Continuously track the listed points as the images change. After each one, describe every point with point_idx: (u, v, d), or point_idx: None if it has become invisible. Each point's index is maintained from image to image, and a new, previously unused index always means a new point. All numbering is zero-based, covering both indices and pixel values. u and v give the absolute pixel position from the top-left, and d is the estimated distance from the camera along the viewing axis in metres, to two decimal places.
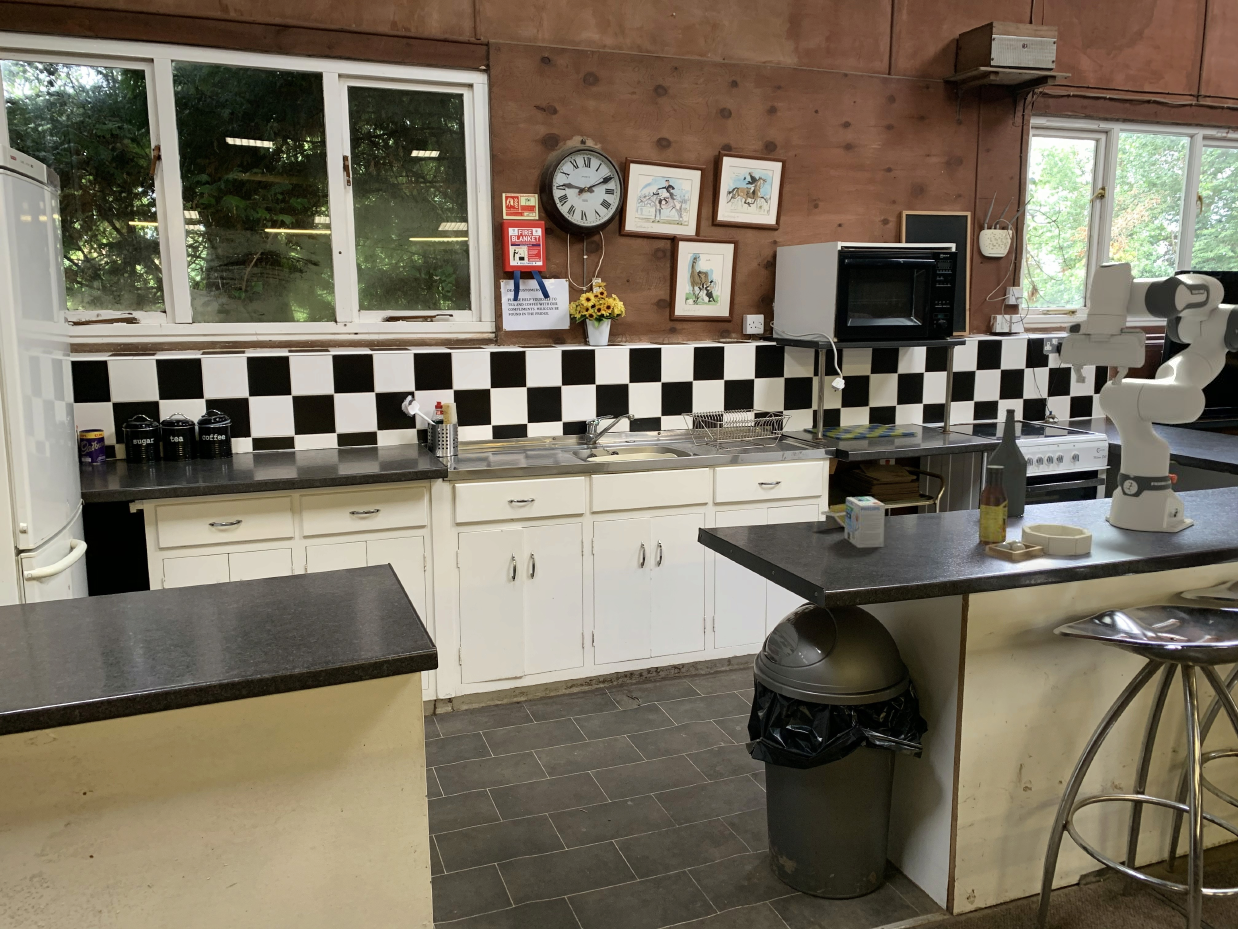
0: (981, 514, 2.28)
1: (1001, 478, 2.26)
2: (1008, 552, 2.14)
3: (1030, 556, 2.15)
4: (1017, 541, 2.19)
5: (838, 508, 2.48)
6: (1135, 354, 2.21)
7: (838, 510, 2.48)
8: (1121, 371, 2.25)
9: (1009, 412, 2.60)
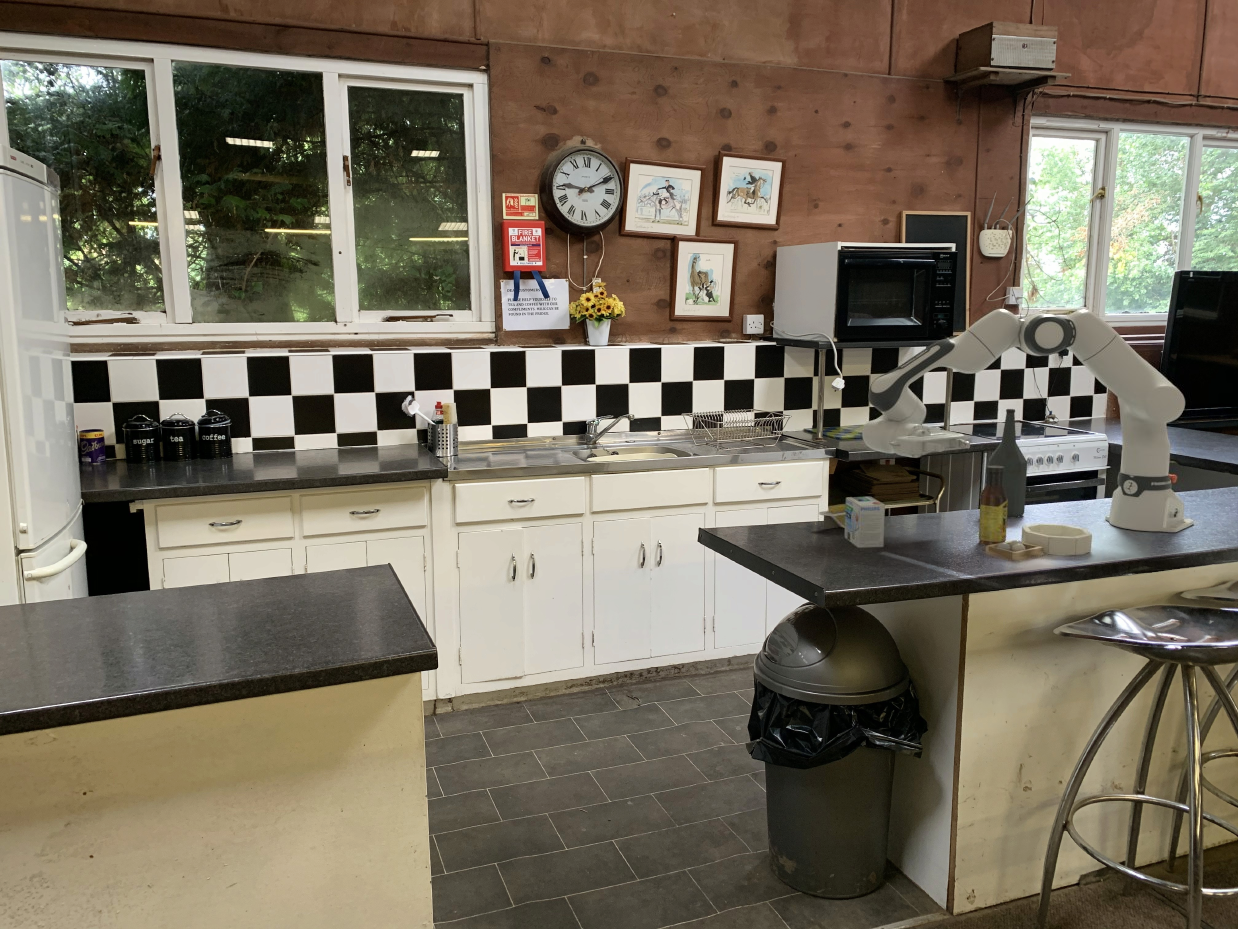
0: (981, 514, 2.28)
1: (1001, 478, 2.26)
2: (1008, 552, 2.14)
3: (1030, 556, 2.15)
4: (1017, 541, 2.19)
5: (836, 509, 2.48)
6: (906, 453, 2.38)
7: (836, 510, 2.48)
8: (927, 451, 2.36)
9: (1009, 412, 2.60)
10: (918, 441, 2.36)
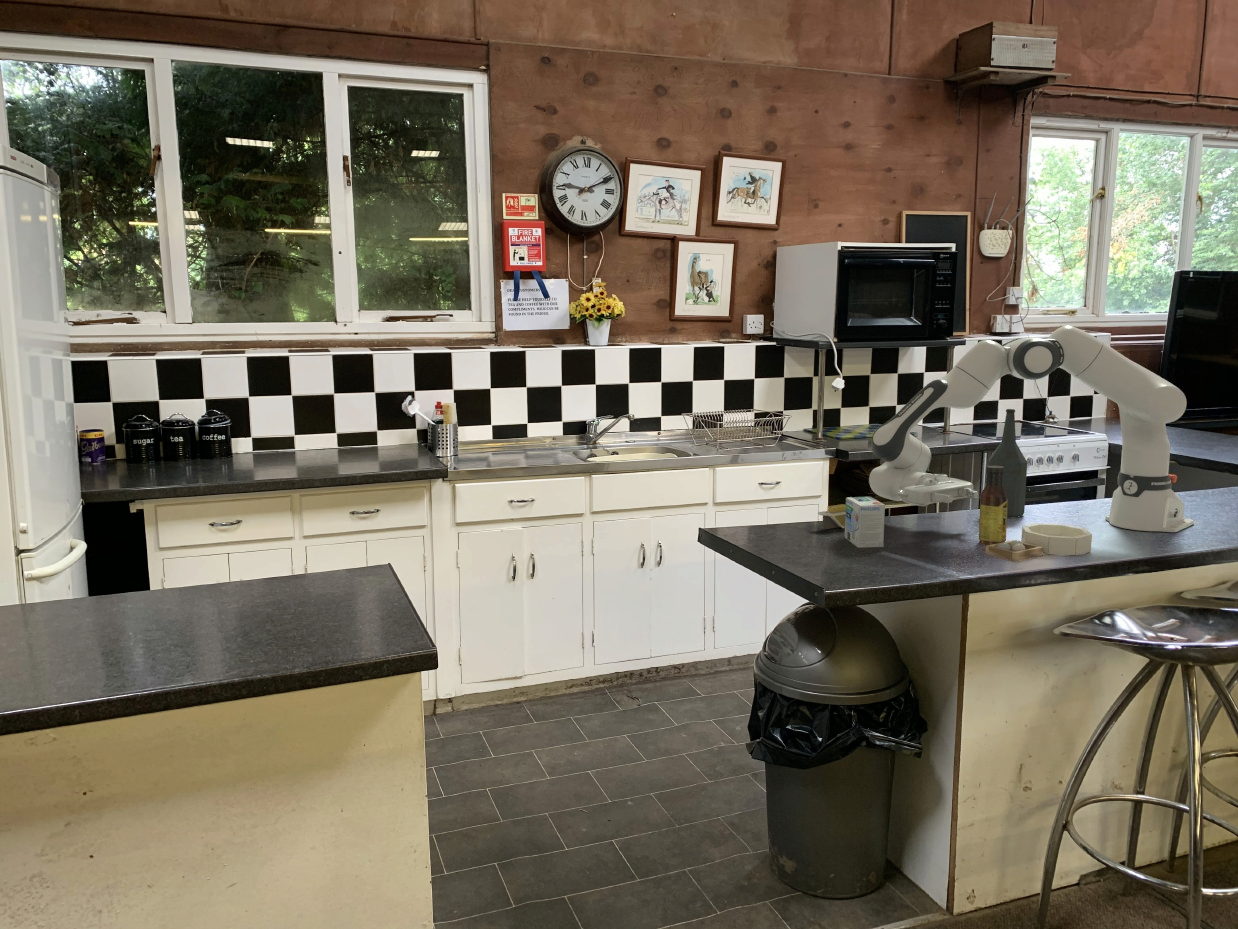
0: (981, 514, 2.28)
1: (1001, 478, 2.26)
2: (1008, 552, 2.14)
3: (1030, 556, 2.15)
4: (1017, 541, 2.19)
5: (835, 509, 2.48)
6: (914, 503, 2.37)
7: (835, 510, 2.48)
8: (935, 502, 2.35)
9: (1009, 412, 2.60)
10: (926, 492, 2.35)
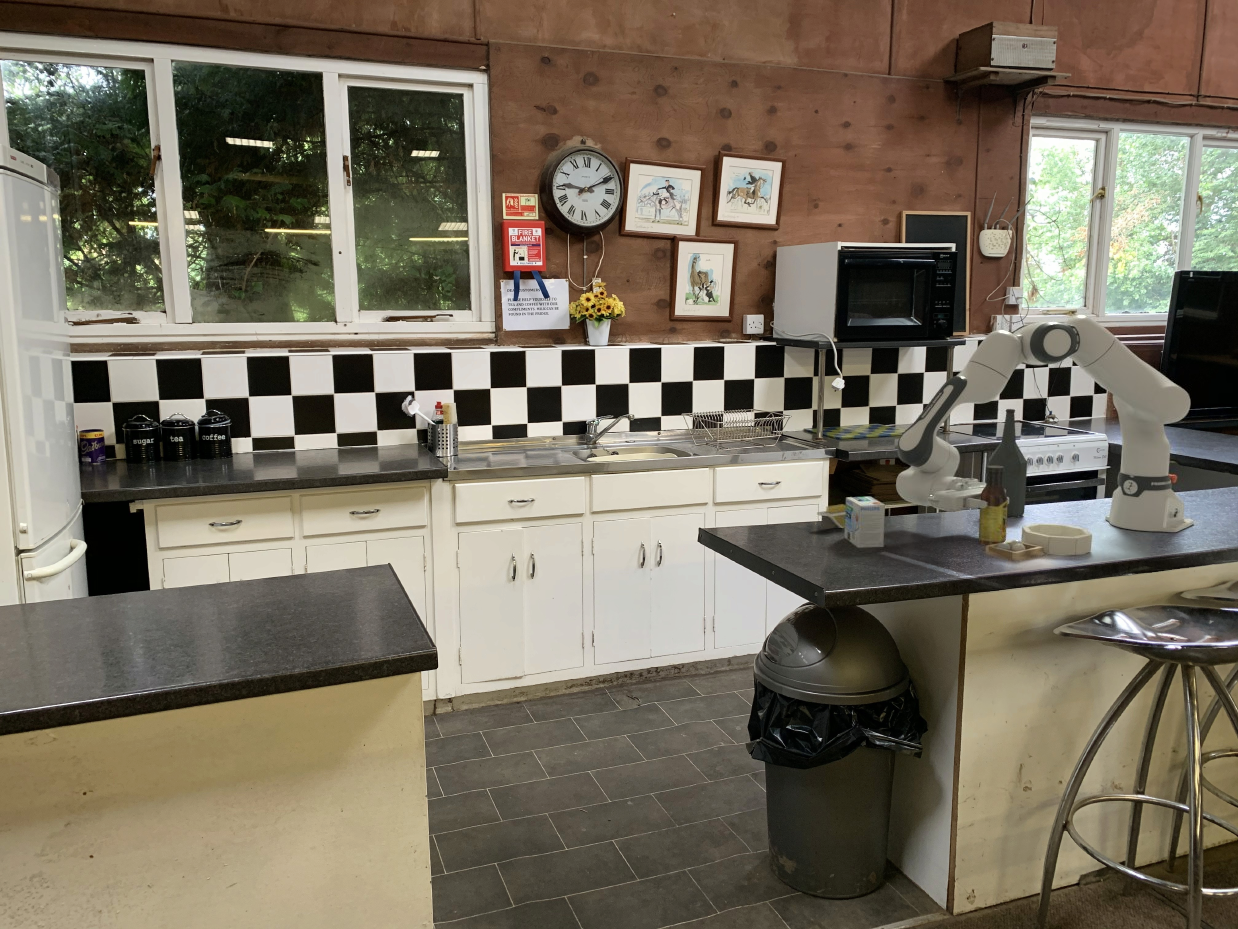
0: (981, 514, 2.28)
1: (1001, 478, 2.25)
2: (1008, 552, 2.14)
3: (1030, 556, 2.15)
4: (1017, 541, 2.19)
5: (834, 509, 2.48)
6: (945, 509, 2.29)
7: (834, 511, 2.48)
8: (970, 507, 2.27)
9: (1009, 412, 2.60)
10: (958, 497, 2.26)
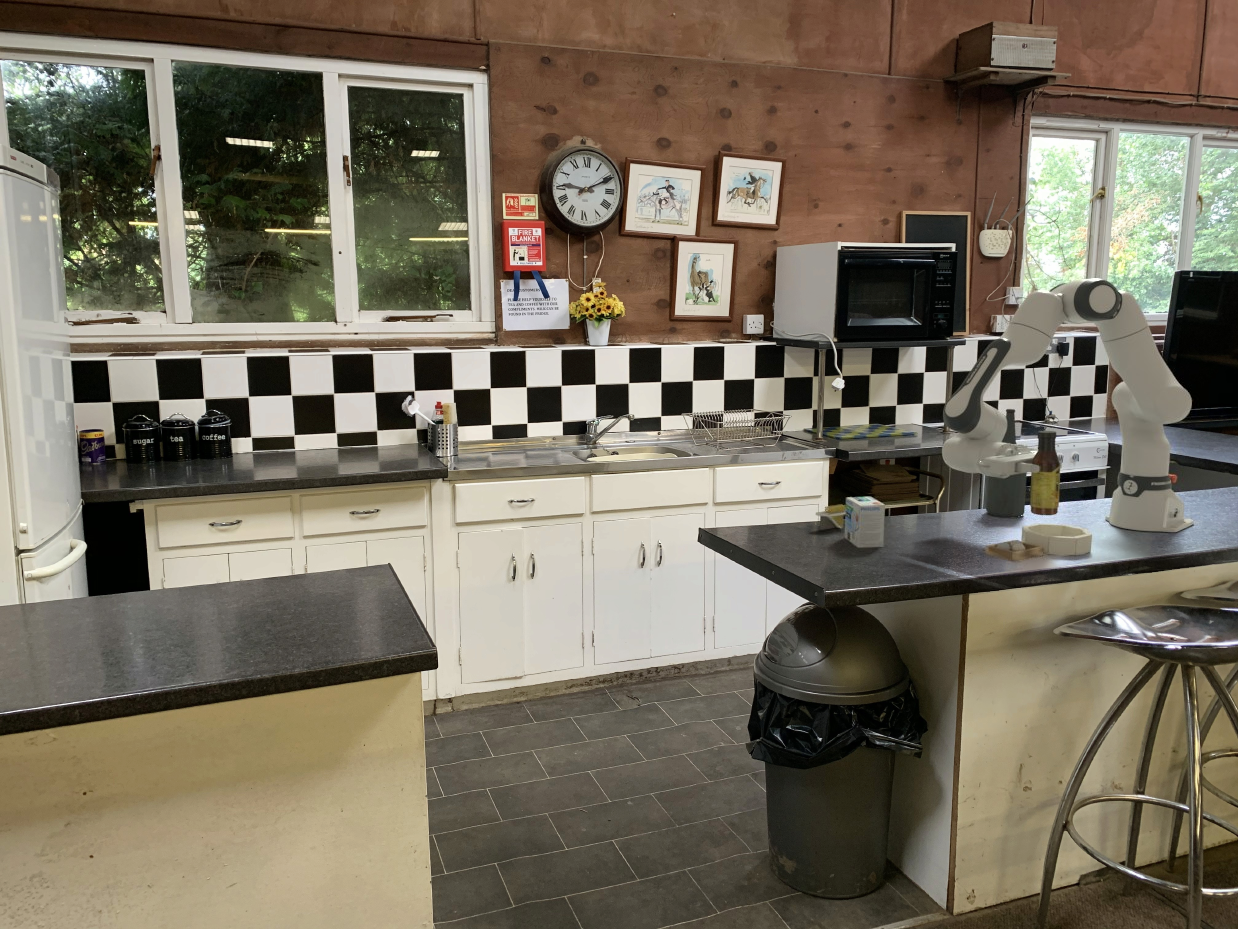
0: (1033, 480, 2.23)
1: (1053, 443, 2.20)
2: (1008, 552, 2.14)
3: (1030, 556, 2.15)
4: (1017, 541, 2.19)
5: (833, 509, 2.48)
6: (996, 474, 2.24)
7: (833, 511, 2.48)
8: (1022, 472, 2.22)
9: (1009, 412, 2.60)
10: (1010, 462, 2.21)
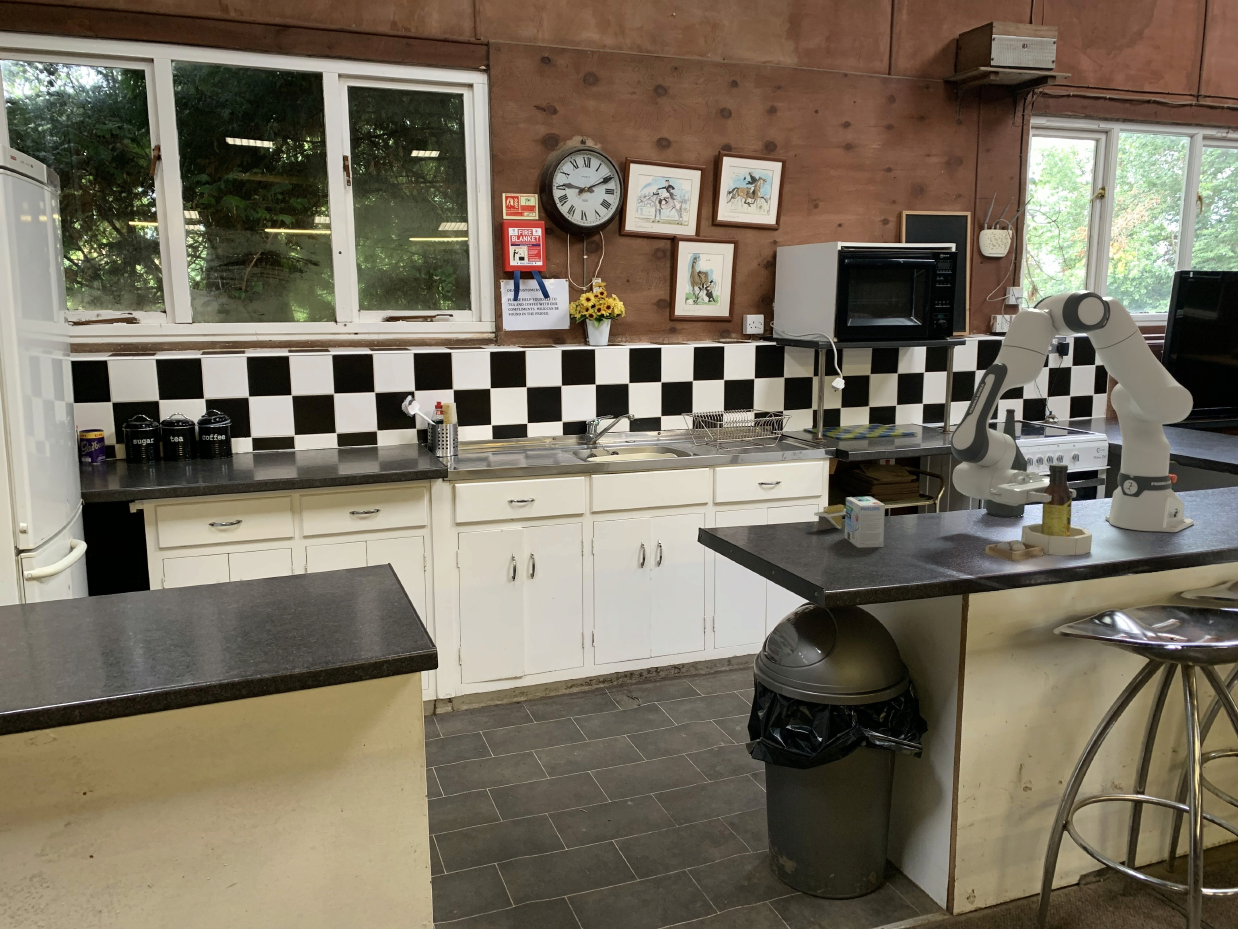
0: (1044, 513, 2.23)
1: (1065, 476, 2.21)
2: (1008, 552, 2.14)
3: (1030, 556, 2.15)
4: (1017, 541, 2.19)
5: (831, 509, 2.47)
6: (1008, 503, 2.23)
7: (831, 511, 2.47)
8: (1032, 501, 2.22)
9: (1009, 412, 2.60)
10: (1022, 491, 2.21)
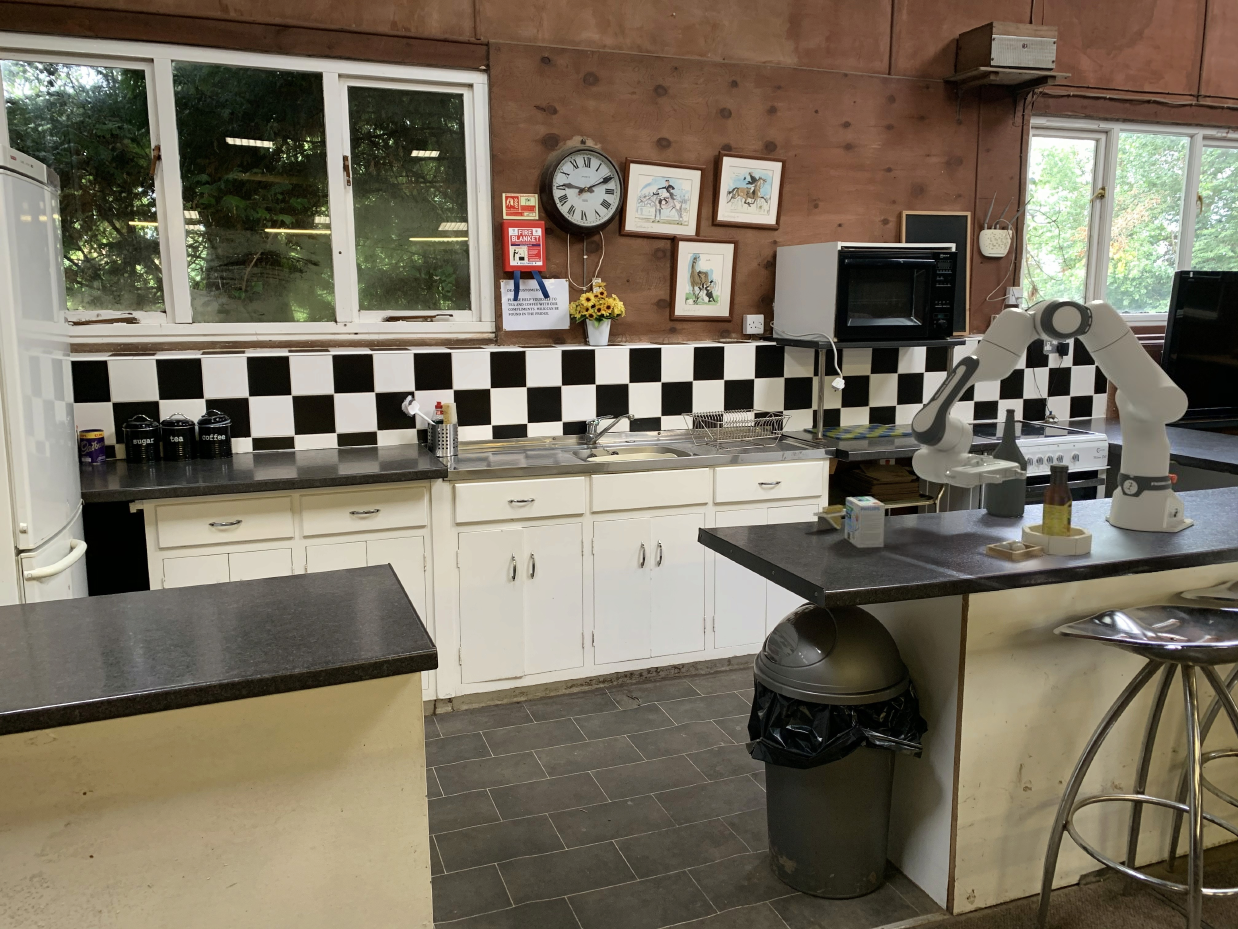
0: (1045, 514, 2.23)
1: (1066, 477, 2.21)
2: (1008, 552, 2.14)
3: (1030, 556, 2.15)
4: (1017, 541, 2.19)
5: (830, 510, 2.47)
6: (962, 484, 2.35)
7: (830, 511, 2.47)
8: (984, 482, 2.33)
9: (1009, 412, 2.60)
10: (975, 473, 2.33)
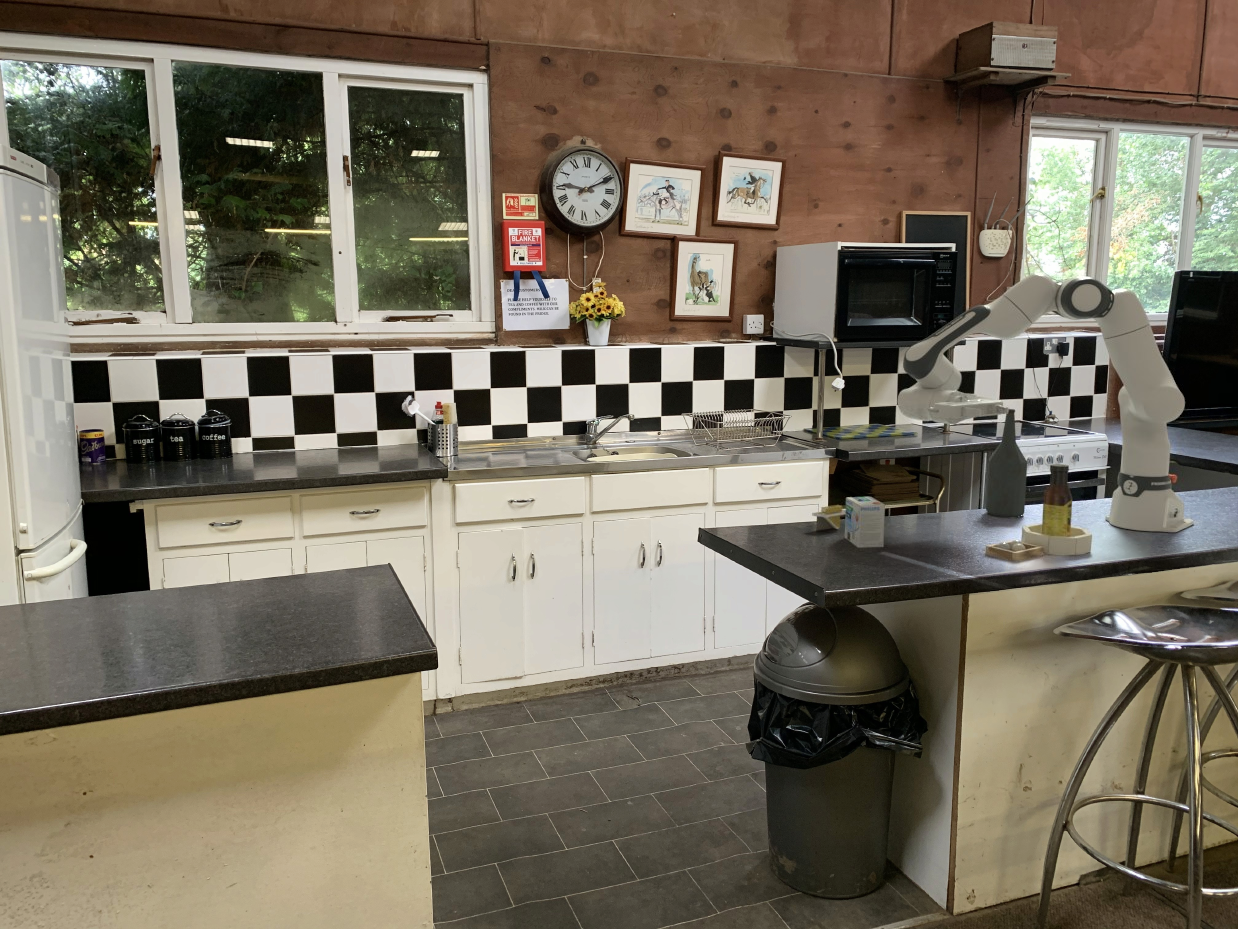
0: (1045, 514, 2.23)
1: (1066, 477, 2.21)
2: (1008, 552, 2.14)
3: (1030, 556, 2.15)
4: (1017, 541, 2.19)
5: (829, 510, 2.47)
6: (944, 418, 2.37)
7: (829, 511, 2.47)
8: (966, 416, 2.36)
9: (1009, 412, 2.60)
10: (957, 406, 2.35)
